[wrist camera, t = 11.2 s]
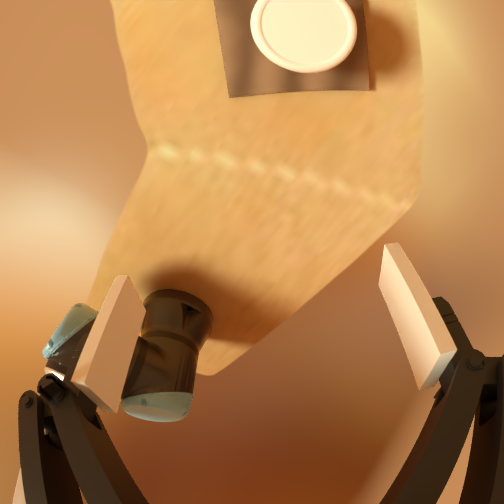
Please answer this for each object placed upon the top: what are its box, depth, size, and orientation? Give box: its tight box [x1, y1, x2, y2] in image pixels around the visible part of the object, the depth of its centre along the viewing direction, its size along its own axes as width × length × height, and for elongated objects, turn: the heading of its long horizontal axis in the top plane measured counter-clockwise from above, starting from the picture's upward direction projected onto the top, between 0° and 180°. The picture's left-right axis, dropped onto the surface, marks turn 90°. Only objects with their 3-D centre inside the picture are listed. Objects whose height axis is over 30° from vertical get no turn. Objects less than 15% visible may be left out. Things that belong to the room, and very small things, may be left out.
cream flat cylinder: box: [250, 0, 357, 73], centre depth 22 cm, size 10×10×4 cm
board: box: [214, 0, 370, 98], centre depth 29 cm, size 18×16×1 cm
